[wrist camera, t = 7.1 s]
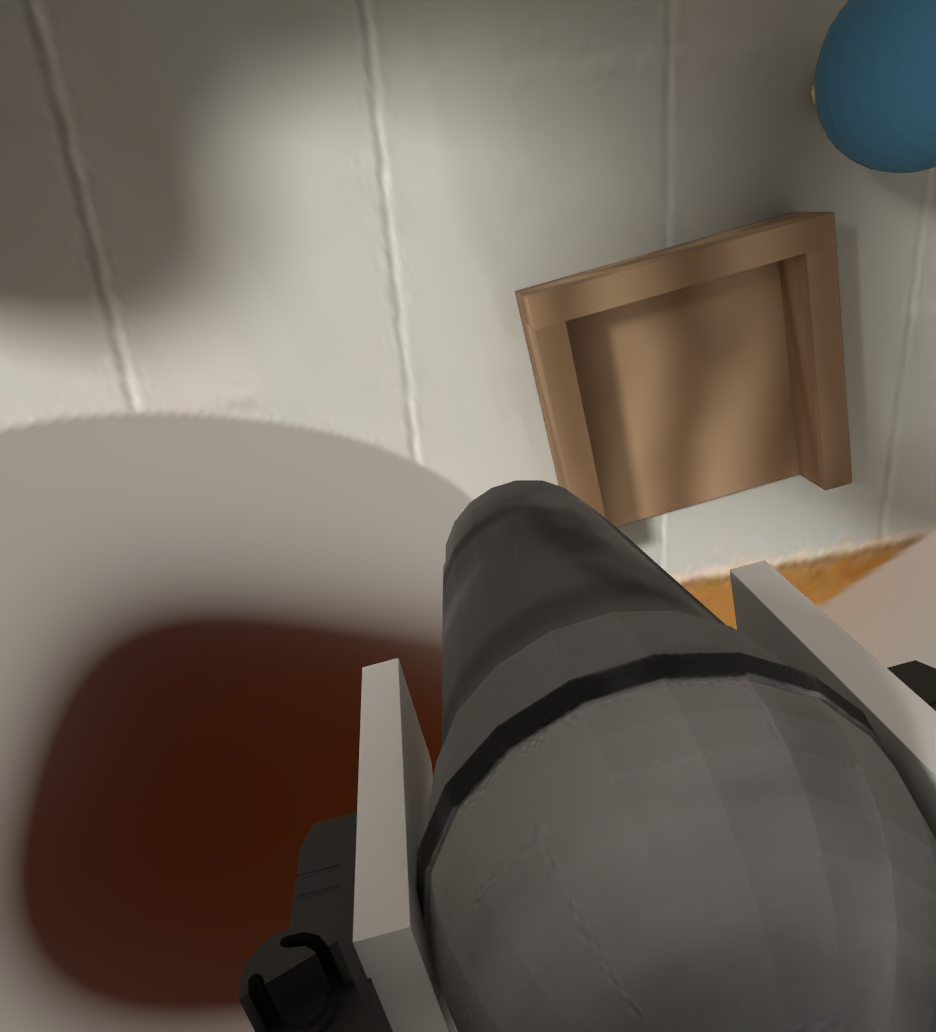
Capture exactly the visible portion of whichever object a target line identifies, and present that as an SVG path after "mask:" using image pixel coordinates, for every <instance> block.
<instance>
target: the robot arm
mask: <svg viewBox="0 0 936 1032" xmlns="http://www.w3.org/2000/svg"><path fill="white" fill-rule="evenodd" d="M730 575H731V584H732V592H733V600H734V608H735V616H736V624H737V631H739V632H740V633H742V634H743V635H745V636H747V637H748V638H750V639H751V640H753V641H755V642H756V643H758V644H759V645H761V646H763V647H764V648H766V649H767V650H769V651H770V652H772V653H774V654H775V655H776V656H778V657H779V658H780V659H782V660H783V661H784V662H786V663H787V664H788V665H790V666H791V667H793V668H796V669H800V670H803V671H807V672H810V673H811V674H813V675H814V676H815V677H817V678H818V679H819V680H821V681H822V682H824V683H825V684H826V685H828V686H829V687H830V688H832V689H833V690H834V691H836V692H837V693H838V694H840V695H841V696H842V697H844V698H845V699H846V700H848V701H849V702H850V703H852V704H853V705H854V706H856V707H857V708H858V709H860V710H861V711H862V712H864V714H865V716H866V718H867V720H868V721H869V723H870V725H871V727H872V728H873V730H874V732H875V734H876V735H877V737H878V739H879V741H880V742H881V744H882V746H883V748H884V750H885V751H886V753H887V755H888V757H889V758H890V760H891V762H892V764H893V765H894V767H895V768H896V770H897V771H898V773H899V775H900V777H901V779H902V780H903V782H904V784H905V786H906V787H907V789H908V791H909V793H910V794H911V796H912V798H913V800H914V802H915V803H916V805H917V807H918V809H919V810H920V812H921V814H922V816H923V817H924V819H925V821H926V823H927V825H928V826H929V828H930V830H931V832H932V834H933V835H934V837H935V839H936V669H935V668H933V667H930V666H928V665H925V664H923V663H920V662H918V661H916V660H915V661H911V662H908V663H903V664H900V665H896V666H893V667H889V668H886V667H885V666H884V665H883V664H882V663H880V662H879V661H878V660H877V659H876V658H875V657H874V656H873V655H871V654H870V653H869V652H868V651H867V650H866V649H864V648H863V647H862V646H861V645H860V644H859V643H858V642H857V641H856V640H854V639H853V638H852V637H851V636H850V635H849V634H848V633H846V632H845V631H844V630H843V629H842V628H841V627H840V626H839V625H837V624H836V623H835V622H834V621H833V620H832V619H831V618H830V617H828V616H827V615H826V614H825V613H824V612H823V611H822V610H820V609H819V608H818V607H817V606H816V605H815V604H814V603H813V602H811V601H810V600H809V599H808V598H807V597H806V596H805V595H804V594H802V593H801V592H800V591H799V590H798V589H797V588H796V587H794V586H793V585H792V584H791V583H790V582H789V581H788V580H787V579H785V578H784V577H783V576H782V575H781V574H780V573H779V572H777V571H776V570H775V569H774V568H773V567H772V566H771V565H770V564H768V563H767V562H766V561H761V562H757V563H753V564H750V565H746V566H742V567H738V568H735V569H731V570H730ZM432 784H433V775H432V765H431V760H430V756H429V754H428V750H427V747H426V744H425V741H424V738H423V735H422V731H421V728H420V725H419V722H418V719H417V716H416V713H415V709H414V706H413V703H412V700H411V697H410V694H409V691H408V687H407V684H406V681H405V678H404V675H403V672H402V669H401V666H400V662H399V659H398V658H397V659H393V660H389V661H385V662H382V663H378V664H374V665H370V666H367V667H363V668H362V697H361V725H360V754H359V781H358V809H357V813H353V814H350V815H346V816H342V817H338V818H335V819H331V820H327V821H323V822H320V823H316V824H314V826H313V827H312V829H311V831H310V833H309V835H308V836H307V838H306V840H305V841H304V843H303V845H302V847H301V849H300V854H299V861H298V869H297V881H296V886H295V894H294V898H295V902H293V909H292V918H291V926H290V928H289V929H286V930H284V931H282V932H279V933H277V934H275V935H274V936H273V937H272V938H270V939H269V940H268V941H266V942H265V943H264V944H262V945H261V946H260V947H259V948H258V950H257V951H256V952H255V953H254V955H253V956H252V957H251V958H250V960H249V961H248V962H247V963H246V966H245V968H244V971H243V973H242V976H241V978H240V981H239V1001H240V1002H241V1004H242V1006H243V1008H244V1010H245V1012H246V1014H247V1016H248V1018H249V1020H250V1022H251V1024H252V1026H253V1028H254V1030H255V1032H457V1028H456V1026H455V1023H454V1021H453V1019H452V1017H451V1014H450V1012H449V1010H448V1007H447V1004H446V1001H445V998H444V995H443V992H442V989H441V986H440V983H439V980H438V977H437V974H436V971H435V966H434V959H433V953H432V947H431V945H430V942H429V939H428V936H427V934H426V931H425V927H424V922H423V917H422V912H421V907H420V902H419V896H418V891H417V850H418V847H419V845H420V843H421V840H422V838H423V835H424V833H425V831H426V828H427V826H428V806H429V801H430V795H431V789H432Z"/></svg>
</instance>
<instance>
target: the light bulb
mask: <svg viewBox="0 0 936 1032" xmlns="http://www.w3.org/2000/svg"><path fill="white" fill-rule="evenodd" d="M811 97H812V99H813V102H814V104H815V105H816V107H817V111H818V115H819V119H820V122H821V124H822V126H823V128H824V130H825V133H826V135H827V137H828V138H829V139H830V140H831V142H832V143H833V144H834V146H835V147H836V148H837V149H838V150H839V151H840V152H842V153H843V154H844V155H845V156H847V157H848V158H849V159H851V160H853V161H854V162H856V163H858V164H861V165H863V166H865V167H867V168H869V169H873V170H879V171H884V172H892V173H906V172H917V171H921V170H925V169H929V168H933V167H936V0H849V1H848V2H847V3H846V5H845V6H844V7H843V8H842V10H841V11H840V13H839V14H838V16H837V17H836V19H835V21H834V22H833V24H832V25H831V27H830V29H829V31H828V33H827V35H826V38H825V40H824V42H823V45H822V47H821V51H820V55H819V59H818V62H817V66H816V74H815V81H814V83H813V86H812V90H811Z"/></svg>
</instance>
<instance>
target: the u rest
mask: <svg viewBox="0 0 936 1032" xmlns="http://www.w3.org/2000/svg"><path fill="white" fill-rule="evenodd" d="M515 294H516V298H517V302H518V307H519V311H520V316H521V320H522V325H523V329H524V333H525V338H526V342H527V347H528V351H529V356H530V360H531V364H532V369H533V373H534V378H535V382H536V387H537V391H538V395H539V400H540V404H541V409H542V413H543V417H544V422H545V426H546V431H547V435H548V440H549V444H550V448H551V453H552V457H553V462H554V466H555V471H556V475H557V479H558V484H559V486H560V487H563V488H566V489H567V490H568V491H570V492H571V493H572V494H574V495H575V496H576V497H578V498H579V499H580V500H582V501H584V502H585V503H586V504H588V505H589V506H590V507H592V508H593V509H594V510H596V511H597V512H598V513H600V514H601V515H602V516H604V517H605V518H606V519H607V520H608V521H610V522H611V523H612V524H613V525H614V526H615V527H617V526H620V525H624V524H627V523H631V522H634V521H638V520H641V519H645V518H648V517H652V516H655V515H659V514H662V513H665V512H669V511H672V510H676V509H679V508H683V507H686V506H690V505H693V504H697V503H700V502H704V501H707V500H711V499H714V498H718V497H721V496H725V495H728V494H732V493H735V492H739V491H742V490H745V489H749V488H752V487H756V486H759V485H763V484H766V483H770V482H773V481H777V480H780V479H784V478H787V477H791V476H794V475H798V474H800V475H801V476H803V477H805V478H806V479H808V480H809V481H811V482H813V483H814V484H816V485H818V486H819V487H821V488H823V489H824V490H829V489H832V488H836V487H839V486H843V485H846V484H850V483H852V473H851V458H850V443H849V428H848V414H847V399H846V384H845V369H844V354H843V340H842V325H841V310H840V295H839V280H838V266H837V251H836V236H835V221H834V212H794V213H790V214H787V215H783V216H780V217H776V218H772V219H769V220H765V221H762V222H758V223H755V224H751V225H748V226H744V227H741V228H737V229H733V230H730V231H726V232H723V233H719V234H716V235H712V236H709V237H705V238H702V239H698V240H695V241H691V242H687V243H684V244H680V245H677V246H673V247H670V248H666V249H663V250H659V251H656V252H652V253H648V254H645V255H641V256H638V257H634V258H631V259H627V260H624V261H620V262H617V263H613V264H610V265H606V266H602V267H599V268H595V269H592V270H588V271H585V272H581V273H578V274H574V275H571V276H567V277H563V278H560V279H556V280H553V281H549V282H546V283H542V284H539V285H535V286H532V287H528V288H524V289H521V290H517V291H515Z"/></svg>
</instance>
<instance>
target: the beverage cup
mask: <svg viewBox="0 0 936 1032" xmlns="http://www.w3.org/2000/svg"><path fill="white" fill-rule="evenodd" d="M442 669H443V670H442V671H443V674H442V679H443V681H442V689H443V690H442V750H441V752H440V755H439V757H438V760H437V762H436V767H435V773H434V778H433V784H432V789H431V795H430V801H429V806H428V826H427V828H426V831H425V833H424V835H423V838H422V840H421V843H420V845H419V847H418V850H417V891H418V896H419V902H420V907H421V912H422V917H423V922H424V927H425V931H426V934H427V936H428V939H429V942H430V945H431V947H432V953H433V959H434V966H435V971H436V974H437V977H438V980H439V983H440V986H441V989H442V992H443V995H444V998H445V1001H446V1004H447V1007H448V1010H449V1012H450V1014H451V1017H452V1019H453V1021H454V1023H455V1026H456V1028H457V1030H458V1032H936V839H935V837H934V835H933V834H932V832H931V830H930V828H929V826H928V825H927V823H926V821H925V819H924V817H923V816H922V814H921V812H920V810H919V809H918V807H917V805H916V803H915V802H914V800H913V798H912V796H911V794H910V793H909V791H908V789H907V787H906V786H905V784H904V782H903V780H902V779H901V777H900V775H899V773H898V771H897V770H896V768H895V767H894V765H893V764H892V762H891V760H890V758H889V757H888V755H887V753H886V751H885V750H884V748H883V746H882V744H881V742H880V741H879V739H878V737H877V735H876V734H875V732H874V730H873V728H872V727H871V725H870V723H869V721H868V720H867V718H866V716H865V714H864V712H862V711H861V710H860V709H858V708H857V707H856V706H854V705H853V704H852V703H850V702H849V701H848V700H846V699H845V698H844V697H842V696H841V695H840V694H838V693H837V692H836V691H834V690H833V689H832V688H830V687H829V686H828V685H826V684H825V683H824V682H822V681H821V680H819V679H818V678H817V677H815V676H814V675H813V674H811V673H810V672H807V671H803V670H800V669H796V668H793V667H791V666H790V665H788V664H787V663H786V662H784V661H783V660H782V659H780V658H779V657H778V656H776V655H775V654H774V653H772V652H770V651H769V650H767V649H766V648H764V647H763V646H761V645H759V644H758V643H756V642H755V641H753V640H751V639H750V638H748V637H747V636H745V635H743V634H742V633H740V632H739V631H737V630H735V629H734V628H732V627H730V626H726V625H725V624H724V623H723V622H722V621H721V620H720V619H719V618H717V617H716V616H715V615H714V614H713V613H712V612H711V611H710V610H708V609H707V608H706V607H705V606H704V605H703V604H702V603H701V602H699V601H698V600H697V599H696V598H695V597H694V596H693V595H692V594H690V593H689V592H688V591H687V590H686V589H685V588H684V587H683V586H681V585H680V584H679V583H678V582H677V581H676V580H675V579H674V578H672V577H671V576H670V575H669V574H668V573H667V572H666V571H665V570H663V569H662V568H661V567H660V566H659V565H658V564H657V563H656V562H654V561H653V560H652V559H651V558H650V557H649V556H648V555H647V554H645V553H644V552H643V551H642V550H641V549H640V548H639V547H638V546H636V545H635V544H634V543H633V542H632V541H631V540H630V539H629V538H628V537H626V536H625V535H624V534H623V533H622V532H621V531H620V530H619V529H617V528H616V527H615V526H614V525H613V524H612V523H611V522H610V521H608V520H607V519H606V518H605V517H604V516H602V515H601V514H600V513H598V512H597V511H596V510H594V509H593V508H592V507H590V506H589V505H588V504H586V503H585V502H584V501H582V500H580V499H579V498H578V497H576V496H575V495H574V494H572V493H571V492H570V491H568V490H567V489H566V488H563V487H560V486H557V485H554V484H551V483H548V482H545V481H513V482H510V483H507V484H503V485H500V486H497V487H494V488H491V489H490V490H488V491H487V492H485V493H484V494H482V495H481V496H479V497H478V498H476V499H475V500H473V501H472V502H470V503H469V505H468V506H467V507H466V509H465V510H464V511H463V512H462V513H461V515H460V516H459V517H458V519H457V520H456V521H455V523H454V525H453V528H452V530H451V533H450V536H449V538H448V541H447V544H446V562H445V565H444V569H443V668H442Z"/></svg>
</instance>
